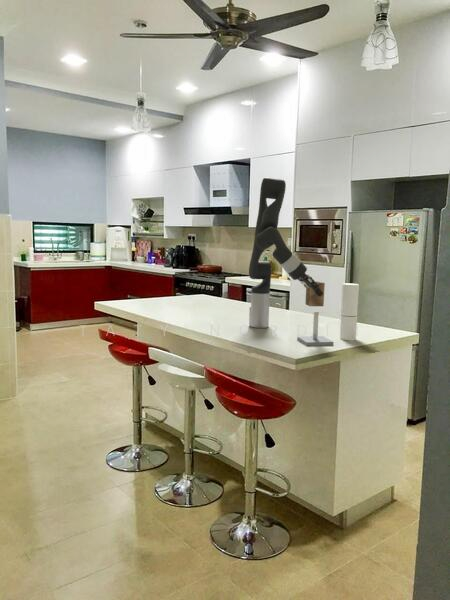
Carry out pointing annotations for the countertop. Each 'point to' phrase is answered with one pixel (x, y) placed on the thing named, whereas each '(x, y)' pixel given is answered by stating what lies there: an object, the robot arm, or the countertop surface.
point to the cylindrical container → (349, 311)
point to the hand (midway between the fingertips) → (318, 294)
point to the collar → (315, 296)
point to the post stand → (315, 336)
